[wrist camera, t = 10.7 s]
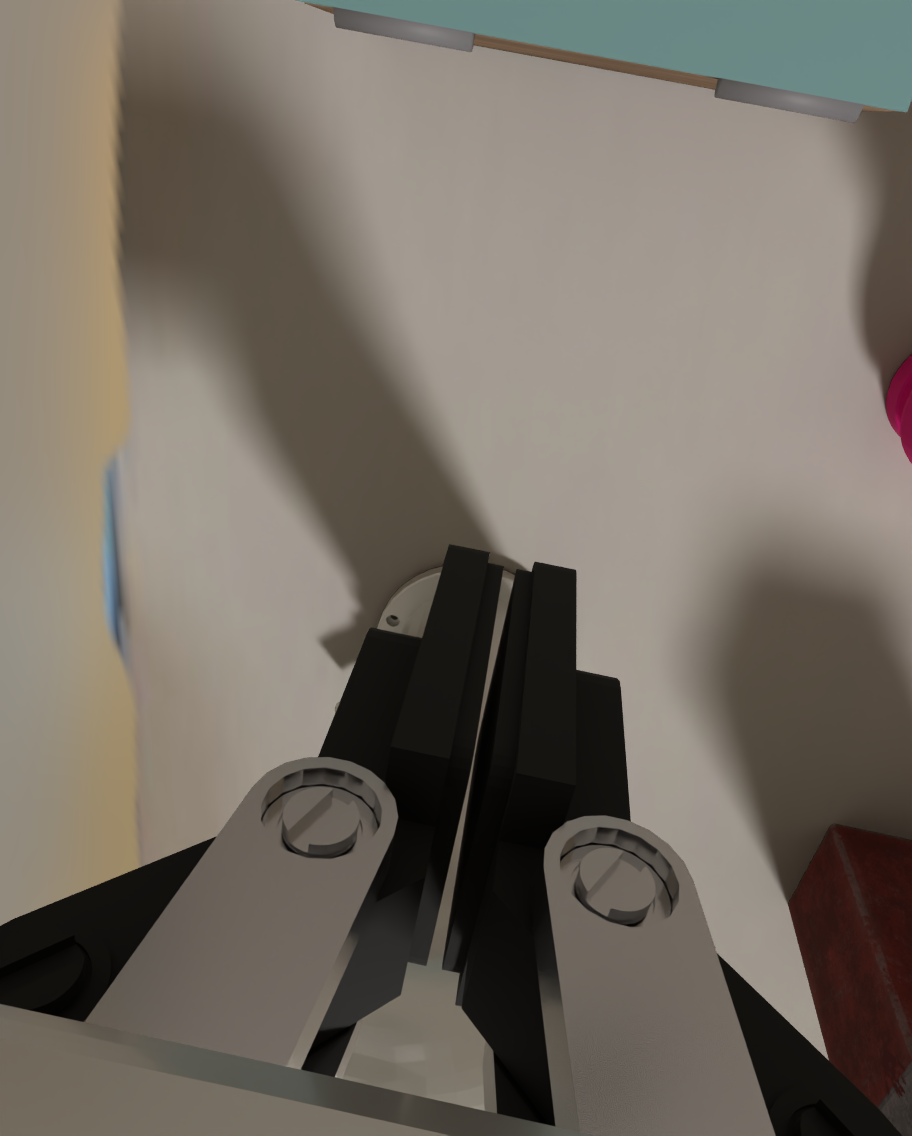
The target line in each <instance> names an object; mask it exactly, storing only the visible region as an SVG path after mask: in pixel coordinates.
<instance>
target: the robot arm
mask: <svg viewBox="0 0 912 1136" xmlns="http://www.w3.org/2000/svg"><path fill="white" fill-rule="evenodd" d="M489 554H490V552H485V551H480V550H475V549H470V548H465V547H460V546H455V545H450V544H449V547H448V550H447V554H446V557H445V561H444V564H443V566H442V567H438V568H434V569H430V570H428V571H426V572H424V573H422V574H420V575H417V576H415V577H414V578H412V579H411V580H409V581H408V582H407V583H405V584H404V585H403V586H401V587H400V588H399V589H398V591H397V592H396V593H395V594H394V595H393V596H392V597H391V598H390V600H389V602H388V604H387V605H386V607H385V609H384V611H383V613H382V616H381V619H380V621H379V624H378V627H377V629H376V628H370V629H369V631H368V633H367V635H366V638H365V640H364V643H363V645H362V648H361V650H360V653H359V655H358V658H357V660H356V663H355V665H354V668H353V670H352V673H351V675H350V678H349V680H348V683H347V686H346V688H345V691H344V693H343V696H342V698H341V701H340V702H338V703H337V704H336V706H335V716H334V718H333V721H332V723H331V726H330V728H329V731H328V733H327V736H326V739H325V741H324V744H323V746H322V749H321V751H320V754H319V756H318V757H307V758H302V759H298V760H294V761H290V762H286V763H284V764H282V765H280V766H278V767H276V768H274V769H273V770H271V771H269V772H267V773H266V774H265V775H264V776H263V777H262V778H261V779H260V780H259V781H258V782H257V783H256V784H255V785H254V786H253V787H252V788H251V789H250V791H249V792H248V794H247V795H246V796H245V798H244V799H243V801H242V802H241V803H240V805H239V806H238V808H237V809H236V810H235V812H234V813H233V815H232V816H231V817H230V819H229V820H228V822H227V823H226V824H225V826H224V827H223V829H222V830H221V831H220V833H219V834H218V836H216V837H214V838H212V839H209V840H207V841H204V842H202V843H199V844H197V845H194V846H192V847H189V848H187V849H185V850H182V851H180V852H177V853H175V854H172V855H170V856H167V857H165V858H162V859H160V860H157V861H155V862H153V863H150V864H148V865H145V866H143V867H140V868H138V869H135V870H133V871H130V872H128V873H125V874H123V875H121V876H118V877H116V878H113V879H111V880H108V881H106V882H104V883H101V884H99V885H97V886H94V887H91V888H89V889H86V890H84V891H82V892H79V893H76V894H74V895H71V896H69V897H67V898H64V899H62V900H59V901H57V902H54V903H52V904H49V905H47V906H44V907H42V908H39V909H37V910H35V911H32V912H30V913H28V914H25V915H22V916H20V917H17V918H15V919H13V920H11V921H9V922H7V923H5V924H3V925H2V926H0V1136H902V1135H901V1134H900V1132H899V1131H898V1130H897V1129H896V1128H895V1127H894V1126H893V1124H892V1123H891V1122H890V1121H889V1120H888V1119H887V1117H886V1116H885V1115H884V1114H883V1113H882V1112H881V1111H880V1110H879V1109H878V1108H877V1107H876V1106H875V1105H874V1104H873V1103H872V1102H871V1101H870V1100H869V1099H868V1098H867V1097H866V1096H865V1095H864V1094H863V1093H862V1092H861V1091H860V1090H859V1089H858V1088H857V1087H856V1086H854V1085H853V1084H852V1083H851V1082H850V1081H849V1080H848V1079H847V1078H846V1077H845V1076H844V1075H843V1074H842V1073H841V1072H840V1071H839V1070H838V1069H837V1068H836V1067H835V1066H834V1065H833V1064H832V1063H831V1062H830V1061H828V1060H827V1059H826V1058H825V1057H824V1056H823V1055H822V1054H821V1053H820V1052H819V1051H818V1050H817V1049H816V1048H815V1047H814V1046H813V1045H812V1044H811V1043H810V1042H809V1041H808V1040H807V1039H806V1038H805V1037H804V1036H802V1035H801V1034H800V1033H799V1032H798V1031H797V1030H796V1029H795V1028H794V1027H793V1026H792V1025H791V1024H790V1023H789V1022H788V1021H787V1020H786V1019H785V1018H784V1017H783V1016H782V1015H781V1014H780V1013H779V1012H778V1011H776V1010H775V1009H774V1008H773V1007H772V1006H771V1005H770V1004H769V1003H768V1002H767V1001H766V1000H765V999H764V998H763V997H762V996H761V995H760V994H759V993H758V992H757V991H756V990H755V989H754V988H753V987H752V986H750V985H749V984H748V983H747V982H746V981H745V980H744V979H743V978H742V977H741V976H740V975H739V974H738V973H737V972H736V971H735V970H734V969H733V968H732V967H731V966H730V965H729V964H728V963H727V962H726V961H724V960H723V959H722V958H721V957H720V956H719V955H718V954H717V952H716V949H715V946H714V943H713V940H712V937H711V934H710V931H709V928H708V925H707V921H706V918H705V915H704V912H703V909H702V906H701V903H700V900H699V897H698V893H697V890H696V887H695V884H694V881H693V879H692V877H691V875H690V873H689V871H688V869H687V867H686V865H685V863H684V861H683V860H682V859H681V858H680V857H679V856H678V854H677V853H676V852H675V851H674V850H673V849H672V848H671V846H670V845H669V844H668V843H666V842H665V841H663V840H662V839H661V838H659V837H658V836H657V835H655V834H654V833H653V832H651V831H650V830H648V829H646V828H644V827H641V826H639V825H637V824H635V823H633V822H631V820H630V806H629V793H628V779H627V766H626V752H625V739H624V725H623V712H622V698H621V687H620V681H619V680H618V679H617V678H613V677H608V676H603V675H599V674H594V673H589V672H584V671H579V670H576V570H574V569H569V568H564V567H559V566H554V565H549V564H544V563H539V562H534V565H533V568H532V572H529V571H524V570H519V569H517V570H516V573H515V575H513V574H511V573H509V572H507V571H505V570H503V568H504V566H499V565H494V564H489V563H488V559H489ZM394 615H395V616H394Z"/></svg>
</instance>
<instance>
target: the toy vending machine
mask: <svg viewBox="0 0 912 1136" xmlns="http://www.w3.org/2000/svg"><path fill="white" fill-rule="evenodd" d="M788 906H789V910H790V914H791V918H792V921H793V925H794V929H795V933H796V937H797V940H798V944H799V948H800V952H801V956H802V959H803V963H804V967H805V971H806V975H807V978H808V982H809V986H810V990H811V994H812V998H813V1001H814V1005H815V1009H816V1013H817V1017H818V1020H819V1024H820V1028H821V1032H822V1036H823V1039H824V1043H825V1047H826V1051H827V1055H828V1058H829V1061H830V1062H831V1063H832V1064H833V1065H834V1066H835V1067H836V1068H837V1069H838V1070H839V1071H840V1072H841V1073H842V1074H843V1075H844V1076H845V1077H846V1078H847V1079H848V1080H849V1081H850V1082H851V1083H852V1084H853V1085H854V1086H856V1087H857V1088H858V1089H859V1090H860V1091H861V1092H862V1093H863V1094H864V1095H865V1096H866V1097H867V1098H868V1099H869V1100H870V1101H871V1102H872V1103H873V1104H874V1105H875V1106H876V1107H877V1108H878V1109H879V1110H880V1111H881V1112H882V1113H883V1114H884V1115H885V1116H886V1117H887V1119H888V1120H889V1121H890V1122H891V1123H892V1124H893V1126H894V1127H895V1128H896V1129H897V1130H898V1131H899V1132H900V1134H901V1135H902V1136H912V840H907V839H902V838H898V837H893V836H888V835H884V834H879V833H874V832H870V831H865V830H860V829H855V828H851V827H846V826H841V825H837V824H836V825H832V826H830V828H829V829H828V831H827V833H826V835H825V837H824V839H823V840H822V842H821V844H820V846H819V848H818V850H817V852H816V853H815V855H814V857H813V859H812V861H811V863H810V864H809V866H808V868H807V870H806V872H805V874H804V876H803V877H802V879H801V881H800V883H799V885H798V887H797V888H796V890H795V892H794V894H793V896H792V898H791V899H790V901H789V903H788Z"/></svg>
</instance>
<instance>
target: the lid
mask: <svg viewBox="0 0 912 1136" xmlns="http://www.w3.org/2000/svg"><path fill="white" fill-rule="evenodd" d="M297 1H301V2H305V3H311V4H316V5H321V6H327V7H332V8H334V22H335V26H336V27H337V28H342V29H347V30H353V31H358V32H363V33H369V34H374V35H380V36H385V37H391V38H396V39H401V40H407V41H412V42H418V43H423V44H429V45H434V46H439V47H445V48H450V49H456V50H461V51H466V52H471V51H472V49H473V44H474V39H475V34H479V35H485V36H490V37H496V38H501V39H506V40H512V41H517V42H523V43H528V44H534V45H539V46H545V47H550V48H555V49H561V50H566V51H572V52H577V53H583V54H588V55H593V56H599V57H604V58H610V59H615V60H621V61H626V62H632V63H637V64H642V65H648V66H653V67H659V68H664V69H670V70H675V71H681V72H686V73H691V74H697V75H702V76H708V77H713V78H718V81H717V85H716V89H715V97H716V98H721V99H727V100H732V101H737V102H743V103H748V104H754V105H759V106H764V107H770V108H775V109H781V110H786V111H792V112H797V113H802V114H808V115H813V116H819V117H824V118H830V119H835V120H840V121H846V122H851V123H854V122H855V121H856V120H857V119H858V117H859V115H860V113H861V111H862V109H863V107H864V105H865V106H871V107H876V108H882V109H887V110H893V111H900V112H907V111H908V109H909V106H910V103H911V101H912V0H297Z"/></svg>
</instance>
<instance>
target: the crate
mask: <svg viewBox="0 0 912 1136" xmlns="http://www.w3.org/2000/svg"><path fill="white" fill-rule="evenodd" d="M304 3H305V2H304ZM305 4H308V5H310V6H313V7H316V8H319V9H321V10H324V11H327V12H330V13H332V14H334V8H332V7H327V6H321V5H316V4H311V3H305ZM473 45H476V46H482V47H487V48H492V49H498V50H503V51H509V52H514V53H520V54H525V55H530V56H536V57H541V58H547V59H552V60H558V61H563V62H568V63H574V64H579V65H585V66H590V67H596V68H601V69H606V70H612V71H617V72H623V73H628V74H634V75H639V76H644V77H650V78H655V79H661V80H666V81H672V82H677V83H682V84H688V85H693V86H699V87H704V88H710V89H716V85H717V81H718V78H713V77H708V76H702V75H697V74H691V73H686V72H681V71H675V70H670V69H664V68H659V67H653V66H648V65H642V64H637V63H632V62H626V61H621V60H615V59H610V58H604V57H599V56H593V55H588V54H583V53H577V52H572V51H566V50H561V49H555V48H550V47H545V46H539V45H534V44H528V43H523V42H517V41H512V40H506V39H501V38H496V37H490V36H485V35H479V34H475V39H474V44H473ZM862 111H887V112H894V111H893V110H887V109H882V108H876V107H871V106H865V105H864V107H863V109H862Z"/></svg>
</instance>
